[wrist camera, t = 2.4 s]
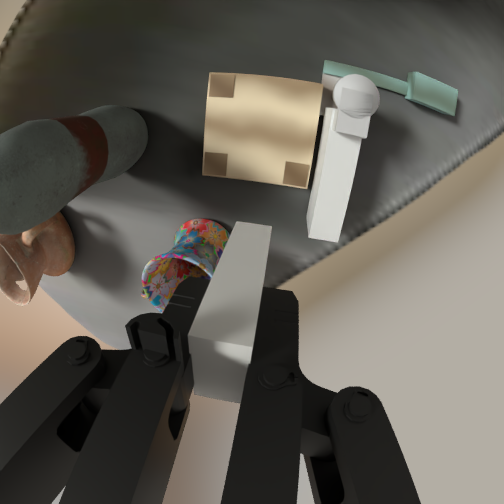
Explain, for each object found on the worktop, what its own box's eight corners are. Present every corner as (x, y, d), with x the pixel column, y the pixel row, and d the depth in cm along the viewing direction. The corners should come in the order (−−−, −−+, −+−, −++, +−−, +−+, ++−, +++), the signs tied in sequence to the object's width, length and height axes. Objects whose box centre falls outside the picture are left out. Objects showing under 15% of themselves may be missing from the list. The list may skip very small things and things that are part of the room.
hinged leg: (325, 77, 25) (337, 69, 18) (360, 85, 25) (382, 81, 18) (303, 216, 34) (305, 247, 27) (334, 221, 33) (344, 254, 27)
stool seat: (218, 39, 24) (199, 25, 18) (448, 90, 23) (479, 91, 17) (206, 170, 33) (187, 188, 27) (421, 208, 31) (445, 232, 25)
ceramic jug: (61, 279, 47) (22, 324, 34) (20, 226, 41) (-25, 263, 29) (102, 234, 40) (49, 286, 28) (52, 169, 35) (-11, 203, 23)
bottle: (128, 183, 35) (-48, 335, 9) (86, 144, 32) (-97, 249, 7) (166, 130, 31) (-75, 260, 5) (119, 89, 28) (-111, 154, 2)
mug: (219, 202, 35) (193, 242, 26) (250, 261, 39) (237, 314, 29) (148, 234, 38) (111, 276, 29) (180, 284, 42) (155, 332, 33)
